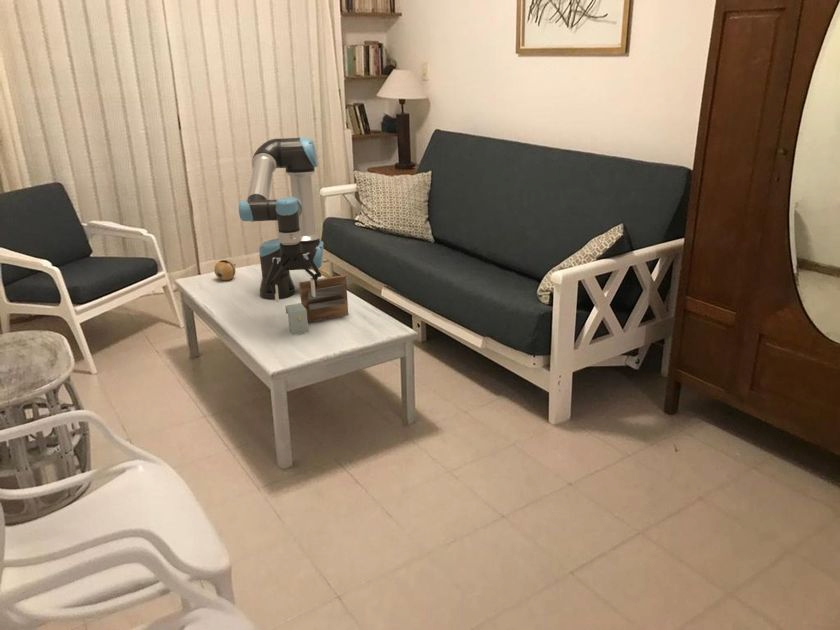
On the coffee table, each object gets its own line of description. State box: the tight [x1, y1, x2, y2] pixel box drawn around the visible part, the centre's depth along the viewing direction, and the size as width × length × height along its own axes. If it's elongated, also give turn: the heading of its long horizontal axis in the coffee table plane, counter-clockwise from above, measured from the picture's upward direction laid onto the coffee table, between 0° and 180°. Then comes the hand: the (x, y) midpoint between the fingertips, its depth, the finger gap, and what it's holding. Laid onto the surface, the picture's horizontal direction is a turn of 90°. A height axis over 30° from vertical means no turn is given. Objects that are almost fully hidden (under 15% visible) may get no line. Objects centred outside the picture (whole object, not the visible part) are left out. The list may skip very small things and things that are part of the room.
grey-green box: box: [285, 302, 310, 336], centre depth 255 cm, size 9×6×9 cm
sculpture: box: [214, 259, 237, 282], centre depth 314 cm, size 9×9×15 cm
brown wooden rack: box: [298, 274, 349, 323], centre depth 265 cm, size 8×18×16 cm, turn 115°
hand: (295, 298), depth 251 cm, fingers open, 13 cm apart
